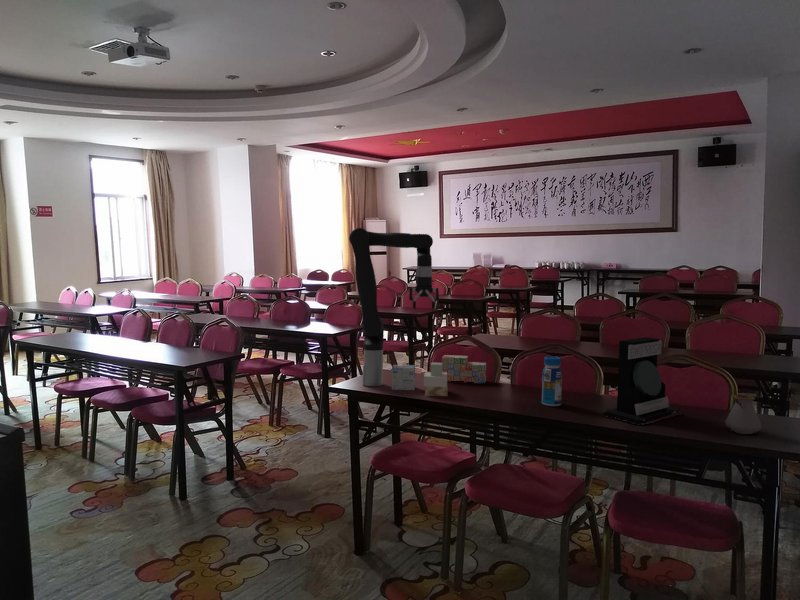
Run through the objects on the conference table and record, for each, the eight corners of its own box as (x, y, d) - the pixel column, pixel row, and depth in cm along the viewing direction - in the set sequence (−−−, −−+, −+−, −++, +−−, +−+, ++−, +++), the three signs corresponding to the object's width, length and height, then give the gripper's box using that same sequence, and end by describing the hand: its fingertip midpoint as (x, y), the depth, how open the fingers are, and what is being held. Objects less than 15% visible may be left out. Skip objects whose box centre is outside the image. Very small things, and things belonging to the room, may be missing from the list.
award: (641, 427, 223) (644, 347, 220) (598, 415, 238) (600, 340, 236) (685, 414, 241) (688, 340, 238) (642, 404, 256) (645, 334, 253)
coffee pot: (728, 425, 226) (730, 385, 225) (763, 431, 218) (766, 390, 217) (714, 438, 210) (716, 396, 208) (752, 445, 202) (754, 402, 201)
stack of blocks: (486, 381, 299) (486, 356, 298) (484, 384, 293) (484, 359, 292) (444, 378, 304) (444, 354, 303) (441, 381, 298) (441, 356, 297)
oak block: (425, 396, 268) (425, 386, 268) (425, 391, 278) (425, 381, 278) (447, 396, 268) (447, 386, 267) (447, 391, 278) (447, 381, 277)
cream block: (423, 386, 268) (424, 376, 268) (425, 381, 278) (425, 371, 278) (446, 387, 267) (446, 377, 267) (447, 382, 277) (447, 372, 277)
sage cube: (430, 375, 270) (430, 364, 269) (431, 373, 275) (431, 362, 274) (441, 375, 269) (441, 364, 269) (442, 373, 274) (442, 362, 274)
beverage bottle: (538, 401, 259) (539, 355, 257) (557, 401, 260) (559, 355, 258) (544, 406, 251) (545, 359, 249) (564, 406, 251) (565, 359, 250)
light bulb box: (415, 387, 284) (415, 364, 283) (414, 390, 278) (414, 367, 277) (393, 386, 286) (393, 364, 285) (391, 390, 279) (391, 367, 278)
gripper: (409, 276, 286) (408, 309, 288) (439, 276, 285) (438, 310, 287) (409, 275, 294) (409, 308, 295) (439, 275, 293) (438, 308, 294)
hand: (423, 309), depth 291 cm, fingers open, 8 cm apart
